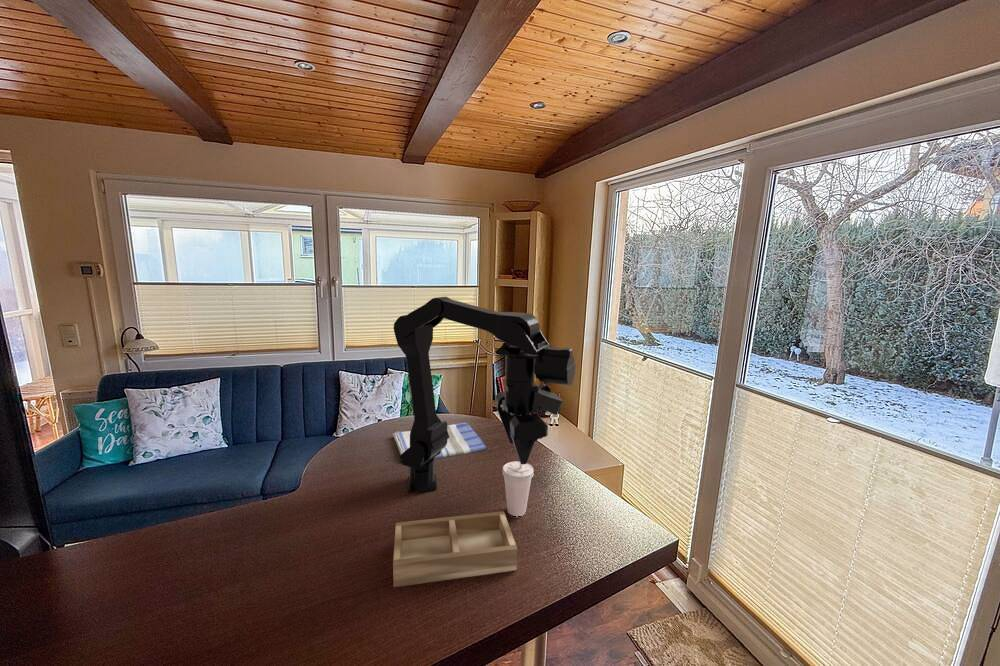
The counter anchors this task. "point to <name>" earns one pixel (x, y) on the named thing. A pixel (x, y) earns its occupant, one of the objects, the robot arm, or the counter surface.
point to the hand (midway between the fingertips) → (517, 452)
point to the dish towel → (448, 441)
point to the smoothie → (517, 486)
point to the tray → (452, 548)
